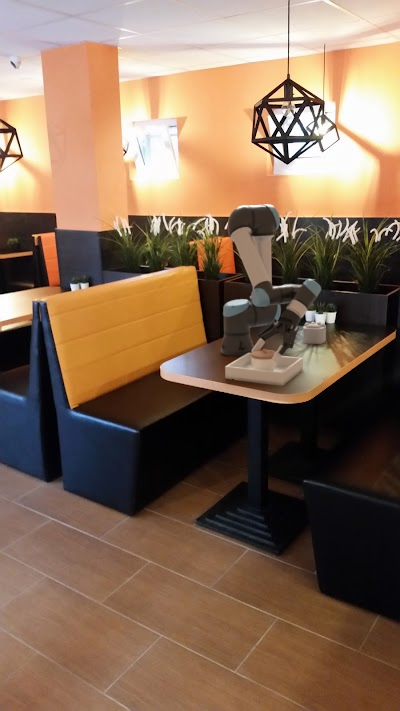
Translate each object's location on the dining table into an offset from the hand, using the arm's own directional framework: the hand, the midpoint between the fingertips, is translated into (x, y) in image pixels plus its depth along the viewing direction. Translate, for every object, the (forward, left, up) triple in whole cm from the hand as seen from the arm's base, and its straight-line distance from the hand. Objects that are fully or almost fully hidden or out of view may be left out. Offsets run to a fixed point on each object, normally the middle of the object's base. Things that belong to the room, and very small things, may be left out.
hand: (263, 356), depth 234 cm
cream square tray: (0, +1, -7) cm, 8 cm away
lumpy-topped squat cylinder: (+1, +60, -8) cm, 60 cm away
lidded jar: (0, +1, -7) cm, 7 cm away
